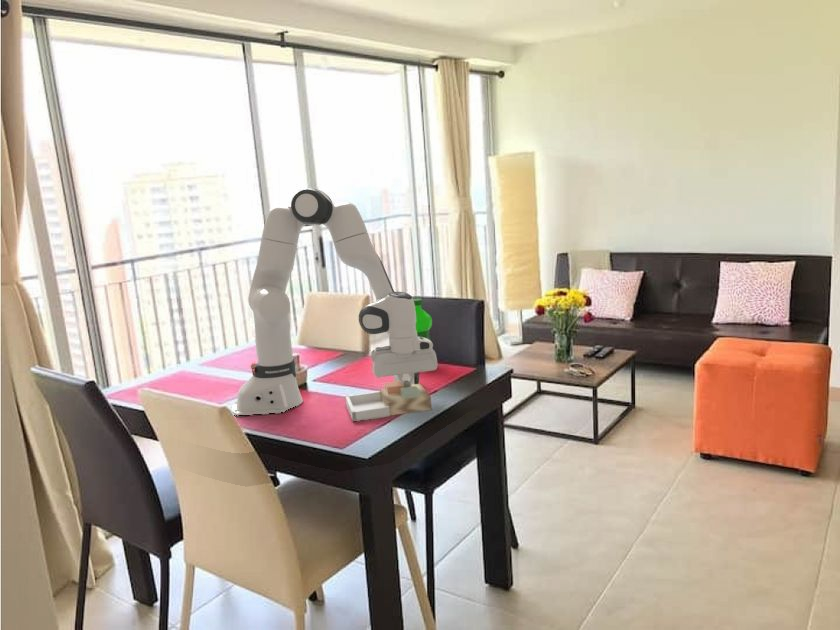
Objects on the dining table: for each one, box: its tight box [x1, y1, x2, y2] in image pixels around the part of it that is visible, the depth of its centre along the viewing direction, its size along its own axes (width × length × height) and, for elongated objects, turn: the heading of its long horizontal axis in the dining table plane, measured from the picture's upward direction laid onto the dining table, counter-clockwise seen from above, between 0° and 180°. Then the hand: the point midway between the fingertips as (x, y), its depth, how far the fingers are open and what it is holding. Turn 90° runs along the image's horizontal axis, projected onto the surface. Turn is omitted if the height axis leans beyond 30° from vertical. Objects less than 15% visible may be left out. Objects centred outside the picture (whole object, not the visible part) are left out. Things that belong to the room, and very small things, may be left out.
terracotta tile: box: [384, 381, 404, 394], centre depth 208 cm, size 5×5×2 cm
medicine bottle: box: [393, 372, 420, 384], centre depth 223 cm, size 7×7×12 cm
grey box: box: [344, 390, 391, 422], centre depth 203 cm, size 11×16×3 cm
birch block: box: [379, 383, 432, 416], centre depth 205 cm, size 13×14×4 cm
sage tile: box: [400, 386, 420, 399], centre depth 202 cm, size 5×5×2 cm
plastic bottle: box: [413, 298, 433, 341], centre depth 245 cm, size 10×10×25 cm
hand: (406, 386), depth 209 cm, fingers closed
